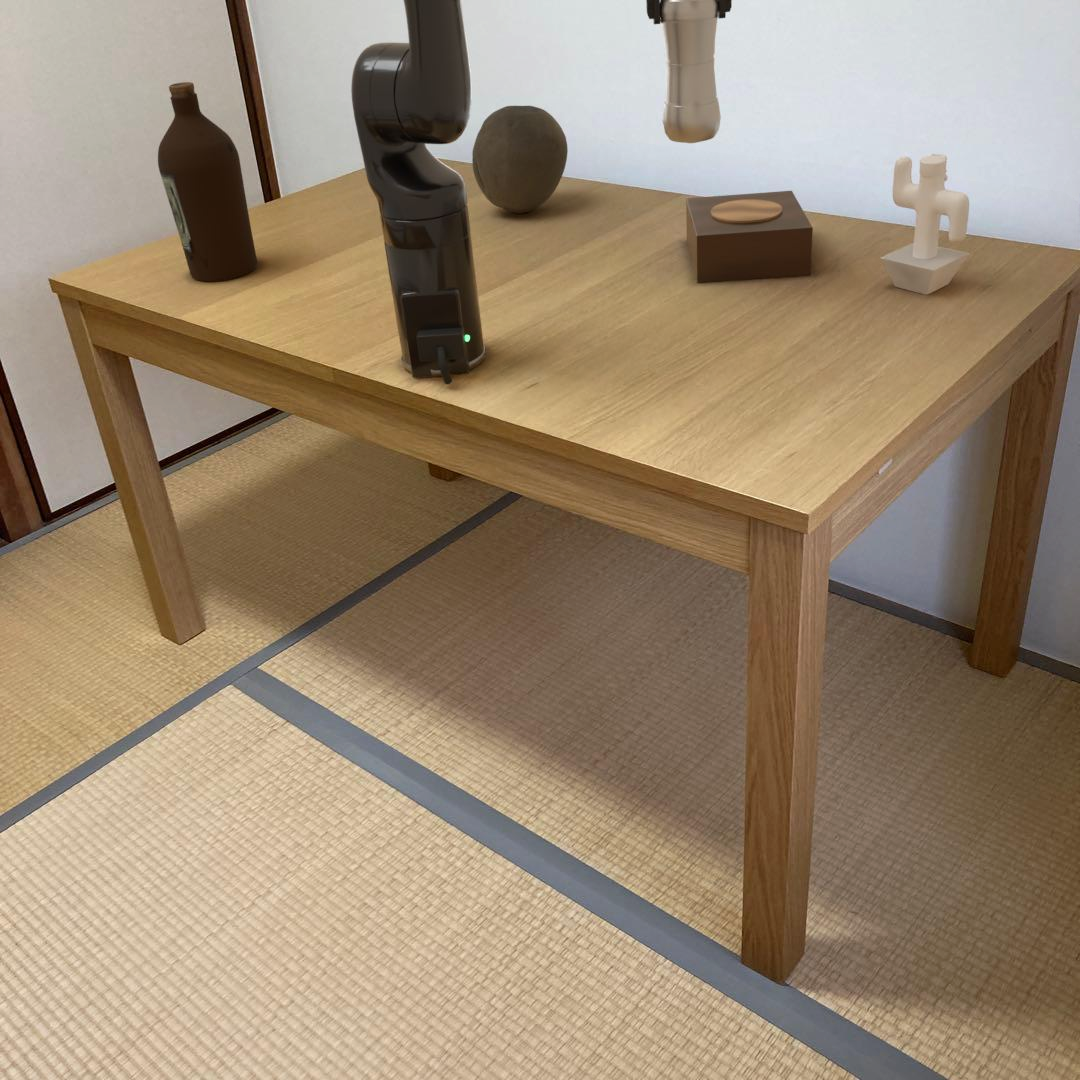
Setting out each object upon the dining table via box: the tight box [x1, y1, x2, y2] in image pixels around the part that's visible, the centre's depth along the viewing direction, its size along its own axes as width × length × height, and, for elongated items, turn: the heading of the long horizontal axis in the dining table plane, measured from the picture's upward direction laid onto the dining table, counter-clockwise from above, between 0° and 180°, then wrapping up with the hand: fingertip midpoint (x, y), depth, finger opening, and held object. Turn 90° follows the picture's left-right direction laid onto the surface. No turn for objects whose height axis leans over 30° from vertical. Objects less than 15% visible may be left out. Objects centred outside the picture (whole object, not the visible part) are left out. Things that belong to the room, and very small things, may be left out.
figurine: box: [879, 153, 970, 296], centre depth 133 cm, size 7×9×15 cm
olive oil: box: [157, 81, 258, 282], centre depth 157 cm, size 11×11×25 cm
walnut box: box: [685, 190, 814, 284], centre depth 149 cm, size 16×14×6 cm
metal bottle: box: [660, 0, 722, 144], centre depth 130 cm, size 6×7×20 cm
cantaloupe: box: [471, 105, 569, 214], centre depth 173 cm, size 14×14×15 cm
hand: (689, 19), depth 128 cm, fingers closed on metal bottle, 6 cm apart
